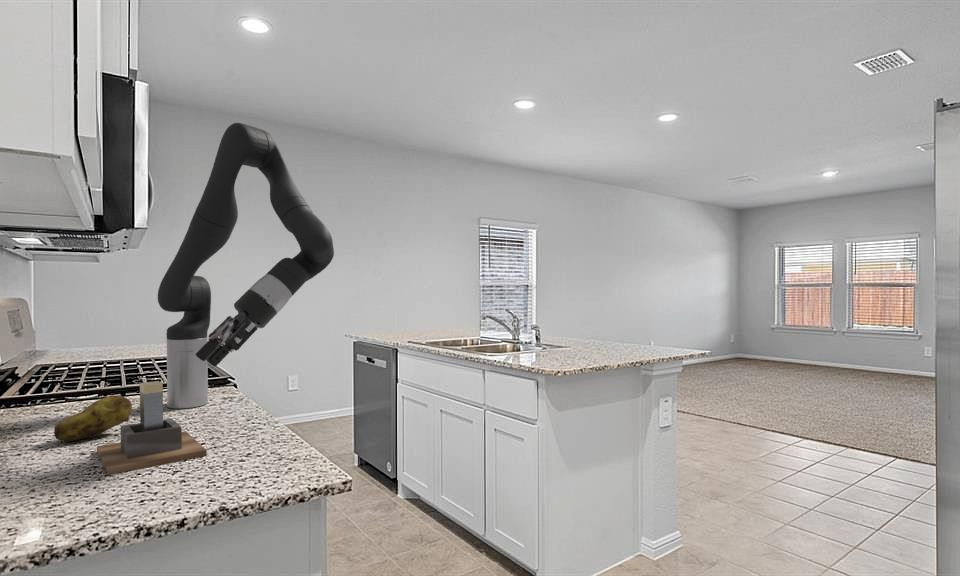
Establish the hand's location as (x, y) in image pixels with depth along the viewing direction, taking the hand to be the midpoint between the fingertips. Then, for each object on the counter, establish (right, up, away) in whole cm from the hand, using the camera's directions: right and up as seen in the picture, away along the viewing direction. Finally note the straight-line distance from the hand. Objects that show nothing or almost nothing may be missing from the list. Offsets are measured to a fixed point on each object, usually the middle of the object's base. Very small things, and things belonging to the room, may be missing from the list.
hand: (204, 360), depth 106 cm
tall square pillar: (-7, -15, -6) cm, 18 cm away
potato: (-25, -17, +5) cm, 30 cm away
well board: (-7, -16, -6) cm, 19 cm away
